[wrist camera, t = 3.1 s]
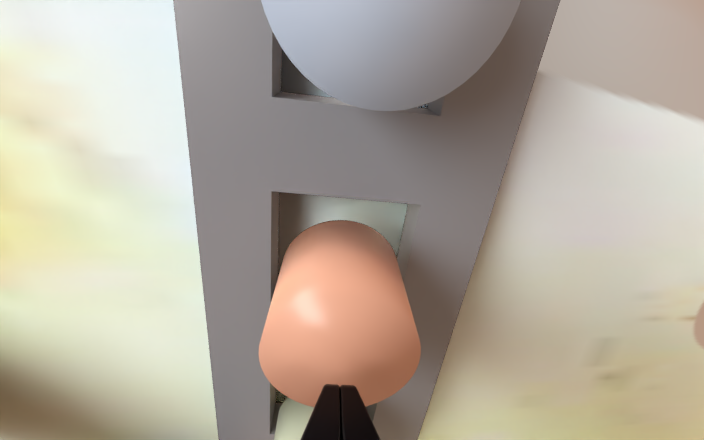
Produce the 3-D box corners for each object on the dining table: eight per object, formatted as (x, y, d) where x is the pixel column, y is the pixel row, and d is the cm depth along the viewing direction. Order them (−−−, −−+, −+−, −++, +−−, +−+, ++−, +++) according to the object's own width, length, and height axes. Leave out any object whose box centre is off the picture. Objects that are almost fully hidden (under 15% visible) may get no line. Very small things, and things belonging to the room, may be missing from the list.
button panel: (405, 426, 23) (411, 457, 21) (229, 420, 22) (220, 452, 20) (572, -143, 11) (620, -185, 9) (181, -215, 10) (144, -278, 8)
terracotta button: (387, 319, 15) (405, 412, 11) (280, 312, 15) (259, 407, 11) (407, 225, 13) (436, 299, 9) (283, 215, 13) (257, 286, 9)
